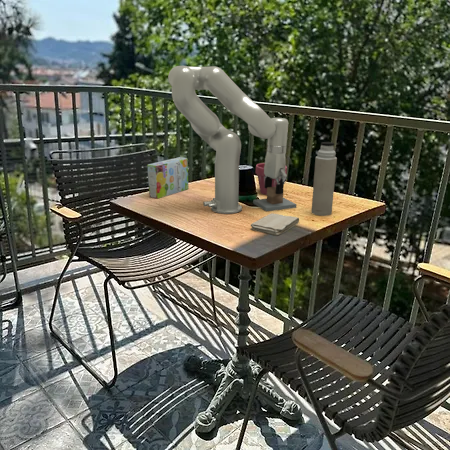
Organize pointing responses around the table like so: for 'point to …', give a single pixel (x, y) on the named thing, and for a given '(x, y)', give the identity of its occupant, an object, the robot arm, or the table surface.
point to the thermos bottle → (324, 180)
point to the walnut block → (274, 196)
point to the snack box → (168, 177)
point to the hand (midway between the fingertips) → (273, 190)
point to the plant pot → (262, 178)
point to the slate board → (274, 205)
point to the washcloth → (274, 224)
